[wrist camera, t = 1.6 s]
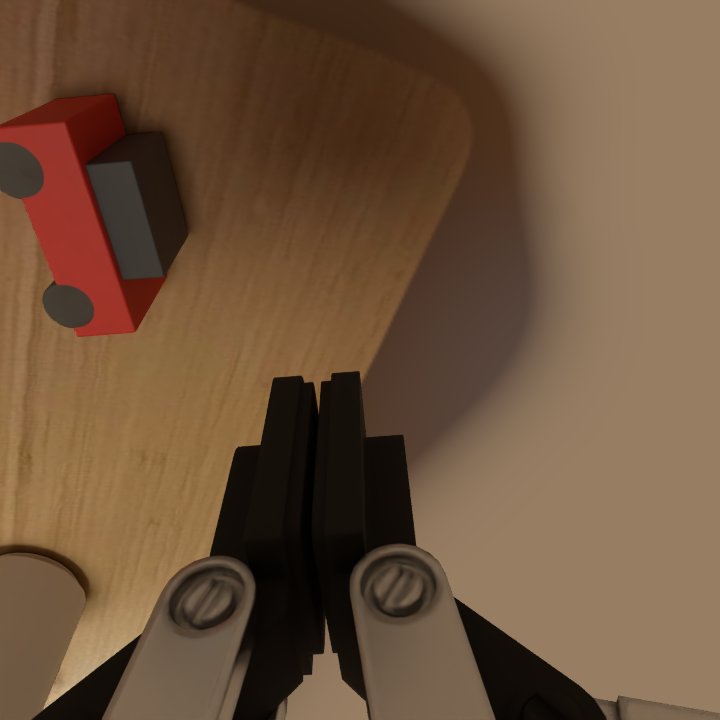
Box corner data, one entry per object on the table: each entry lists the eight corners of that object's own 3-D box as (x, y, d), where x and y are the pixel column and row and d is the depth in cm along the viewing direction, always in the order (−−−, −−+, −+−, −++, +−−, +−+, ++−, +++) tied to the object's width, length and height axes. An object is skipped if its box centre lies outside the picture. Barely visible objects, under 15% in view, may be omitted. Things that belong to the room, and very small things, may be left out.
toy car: (34, 100, 24) (-33, 129, 19) (155, 89, 23) (113, 116, 19) (99, 283, 28) (56, 339, 24) (201, 275, 28) (176, 329, 24)
